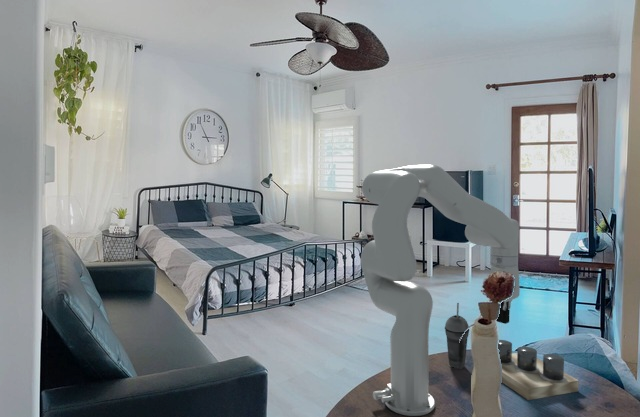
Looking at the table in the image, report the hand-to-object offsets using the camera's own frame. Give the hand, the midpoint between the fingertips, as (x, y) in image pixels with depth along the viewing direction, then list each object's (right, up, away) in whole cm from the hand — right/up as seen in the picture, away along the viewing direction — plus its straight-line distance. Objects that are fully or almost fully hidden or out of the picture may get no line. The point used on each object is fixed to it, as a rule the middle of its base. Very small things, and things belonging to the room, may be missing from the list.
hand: (502, 321), depth 128 cm
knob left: (0, -12, +1) cm, 12 cm away
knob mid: (+5, -12, -4) cm, 14 cm away
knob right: (+10, -13, -10) cm, 19 cm away
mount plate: (+5, -15, -4) cm, 17 cm away
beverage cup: (-12, -15, +5) cm, 20 cm away
